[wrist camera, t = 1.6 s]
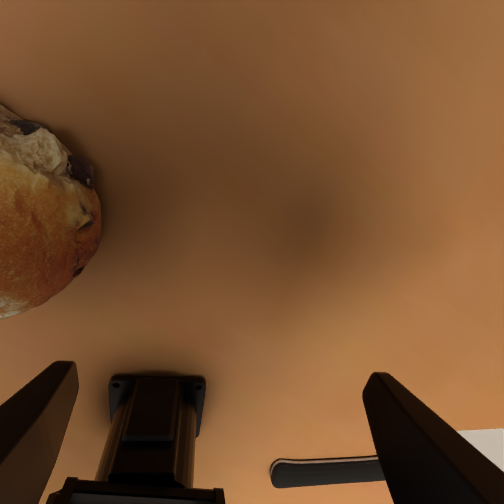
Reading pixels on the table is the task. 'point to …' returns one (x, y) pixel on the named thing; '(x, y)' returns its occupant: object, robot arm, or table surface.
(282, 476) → the kitchen cleaver
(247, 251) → the table surface
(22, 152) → the bread roll
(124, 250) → the table surface
